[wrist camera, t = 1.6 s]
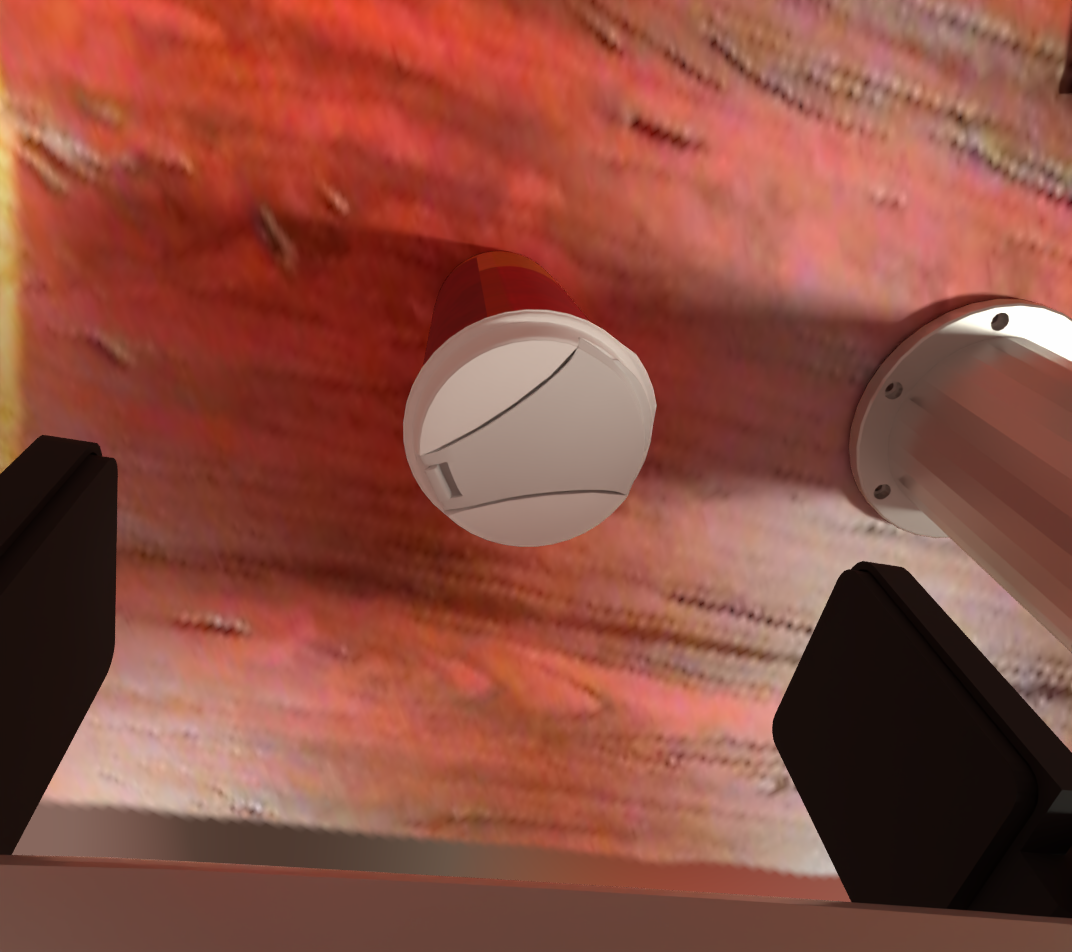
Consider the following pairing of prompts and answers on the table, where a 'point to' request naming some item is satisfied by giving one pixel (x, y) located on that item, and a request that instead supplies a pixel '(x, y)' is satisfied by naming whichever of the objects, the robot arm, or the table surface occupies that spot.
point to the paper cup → (524, 408)
